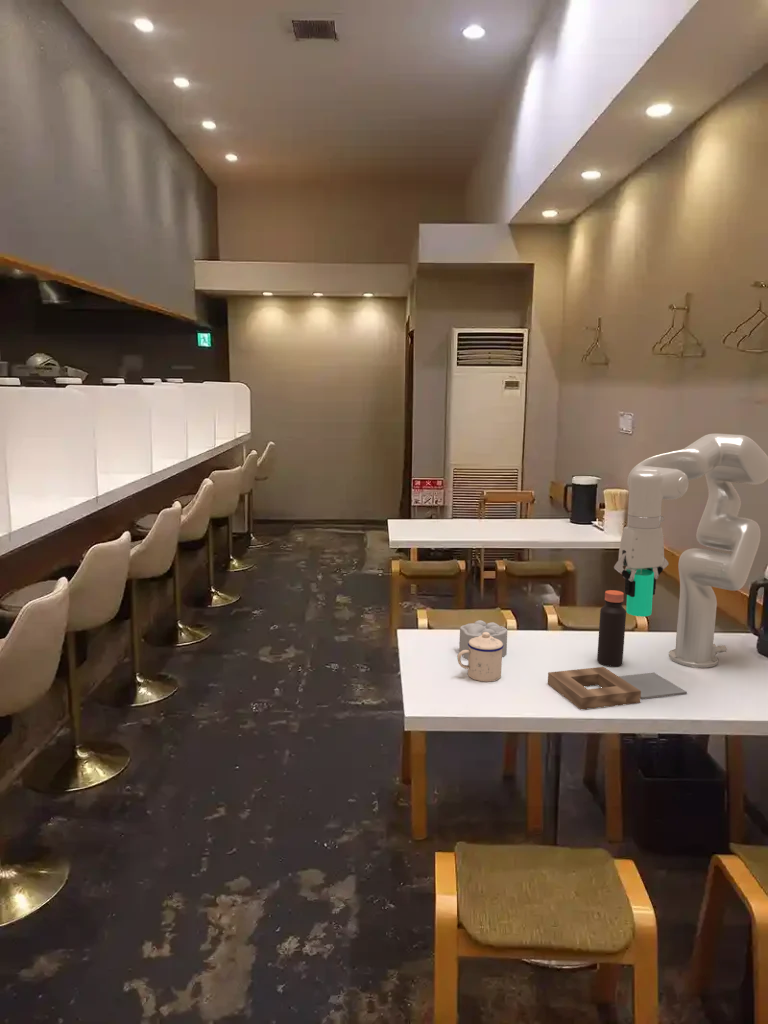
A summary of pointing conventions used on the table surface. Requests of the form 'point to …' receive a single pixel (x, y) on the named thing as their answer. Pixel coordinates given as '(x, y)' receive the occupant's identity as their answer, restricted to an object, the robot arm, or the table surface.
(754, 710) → the table surface
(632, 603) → the candle
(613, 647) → the bottle
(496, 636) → the lumpy-topped squat cylinder
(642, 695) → the mat
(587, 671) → the stand
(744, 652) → the table surface
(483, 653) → the teacup with lid
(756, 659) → the table surface
